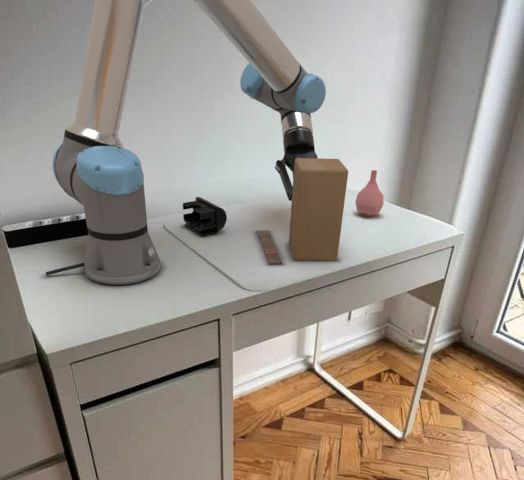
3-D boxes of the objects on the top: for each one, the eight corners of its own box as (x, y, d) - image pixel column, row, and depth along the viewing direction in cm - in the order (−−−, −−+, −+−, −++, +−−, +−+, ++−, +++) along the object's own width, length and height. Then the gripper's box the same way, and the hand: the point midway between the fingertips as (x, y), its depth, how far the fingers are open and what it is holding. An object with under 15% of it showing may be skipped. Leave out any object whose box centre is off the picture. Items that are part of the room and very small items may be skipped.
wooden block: (329, 244, 121) (339, 158, 110) (337, 261, 113) (349, 169, 101) (288, 244, 120) (294, 157, 109) (293, 261, 112) (300, 169, 101)
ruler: (256, 232, 126) (256, 230, 126) (268, 232, 126) (268, 230, 126) (268, 264, 110) (268, 262, 109) (282, 264, 110) (282, 262, 110)
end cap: (227, 232, 125) (227, 205, 121) (202, 237, 122) (202, 210, 118) (206, 220, 132) (206, 195, 128) (182, 225, 128) (181, 199, 124)
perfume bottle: (364, 220, 136) (371, 175, 130) (348, 212, 142) (354, 168, 135) (387, 217, 139) (394, 173, 133) (370, 209, 145) (376, 166, 138)
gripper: (320, 146, 128) (329, 232, 124) (269, 146, 126) (277, 233, 122) (327, 128, 121) (338, 218, 116) (274, 127, 119) (283, 219, 115)
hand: (307, 226), depth 119 cm, fingers closed
